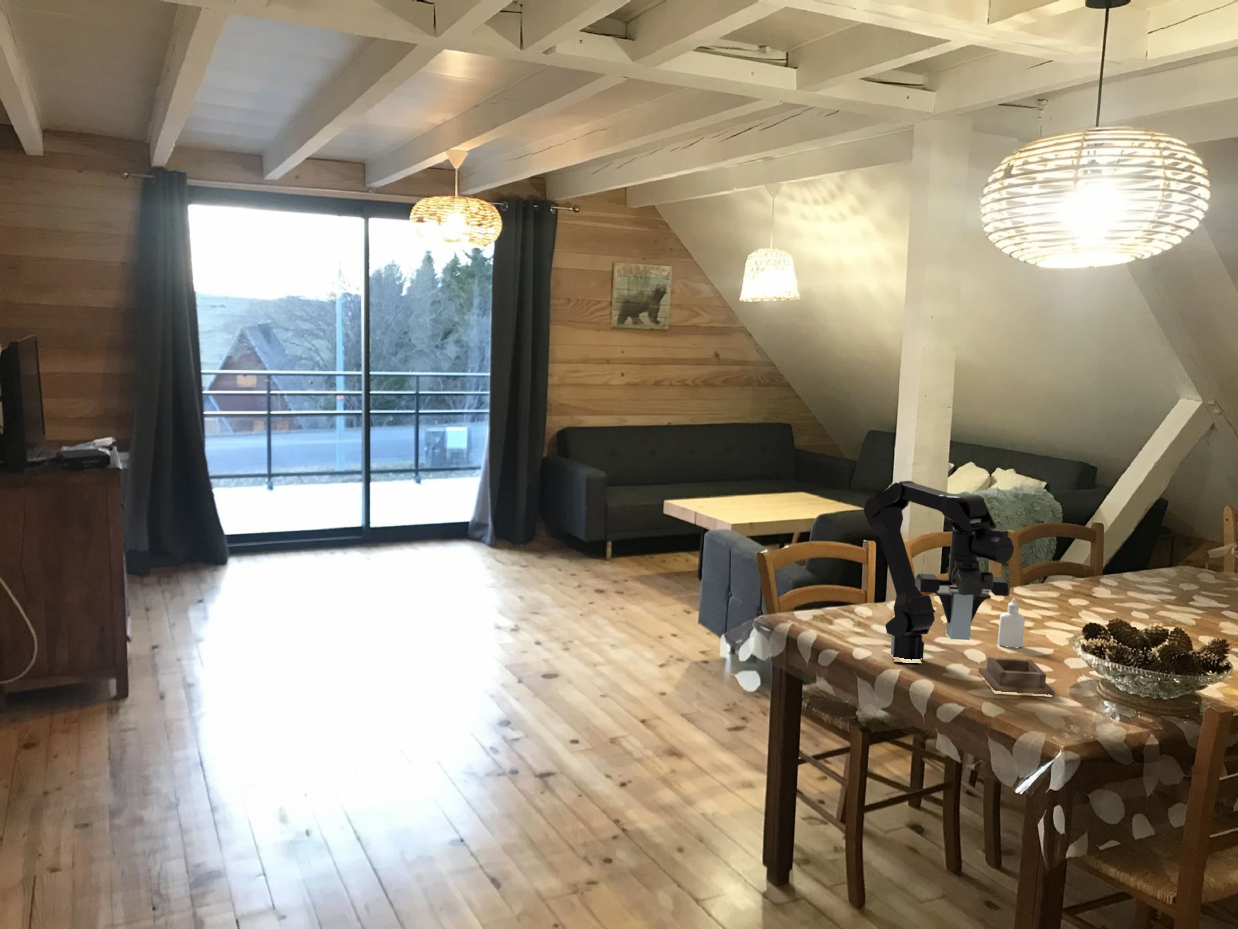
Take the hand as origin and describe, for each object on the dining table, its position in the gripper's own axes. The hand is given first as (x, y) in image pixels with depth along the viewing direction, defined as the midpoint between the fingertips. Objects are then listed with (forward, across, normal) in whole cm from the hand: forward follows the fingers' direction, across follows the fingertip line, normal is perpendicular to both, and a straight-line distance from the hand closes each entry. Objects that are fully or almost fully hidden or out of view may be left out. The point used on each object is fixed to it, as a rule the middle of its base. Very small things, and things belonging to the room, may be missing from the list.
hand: (958, 623), depth 211 cm
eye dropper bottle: (+13, +20, +26) cm, 35 cm away
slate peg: (+3, 0, 0) cm, 3 cm away
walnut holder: (+13, +12, -2) cm, 18 cm away
